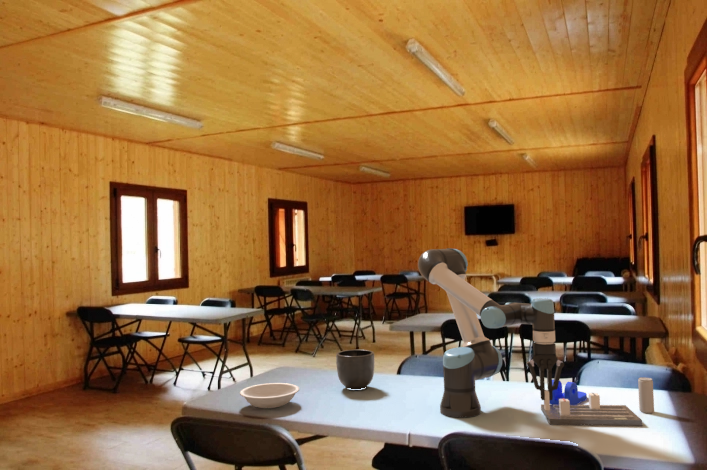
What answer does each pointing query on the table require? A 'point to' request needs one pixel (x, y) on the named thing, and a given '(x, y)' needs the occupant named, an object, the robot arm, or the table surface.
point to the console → (593, 416)
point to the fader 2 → (594, 401)
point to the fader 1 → (564, 406)
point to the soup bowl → (269, 394)
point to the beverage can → (646, 395)
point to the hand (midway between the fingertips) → (547, 409)
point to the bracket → (568, 394)
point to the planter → (355, 368)
